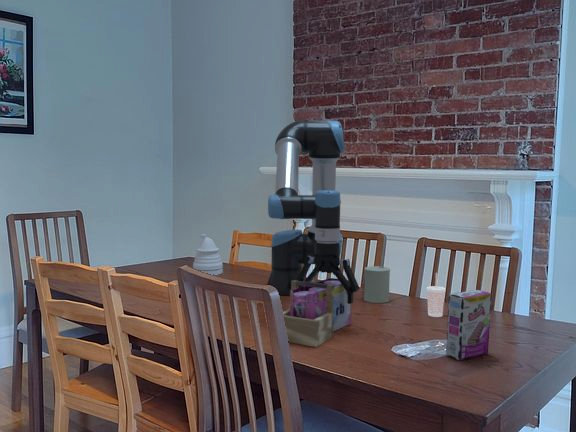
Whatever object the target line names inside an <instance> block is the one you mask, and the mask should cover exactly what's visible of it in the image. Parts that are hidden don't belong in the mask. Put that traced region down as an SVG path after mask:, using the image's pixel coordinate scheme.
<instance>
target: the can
mask: <svg viewBox="0 0 576 432" xmlns="http://www.w3.org/2000/svg"><path fill="white" fill-rule="evenodd" d="M363 270H364V286H363V287H364V289H363V290H364V291H363V292H364V293H363V300H364V302H367V303H371V304H385V303H388V302H390V277H391V276H390V275H391V274H390V272H391V269H390V267H386V266H378V265H377V266H375V265H372V266H371V265H370V266H366V267H364V269H363Z"/></svg>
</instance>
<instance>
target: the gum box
mask: <svg viewBox="0 0 576 432" xmlns="http://www.w3.org/2000/svg"><path fill="white" fill-rule="evenodd" d="M347 280H348V279H347ZM348 282H349V280H348ZM315 283H321V284H331V285H334V327H333V332H335V331H338V330H339V329H341V328H345V327H346V326H349V325H351V324H352V303H351V304H350V314H348V315H344V295H345V293H346V292H347V291H346V290H345V288H344V287H343V286H342V284H341V283H340V281H339V280H338V279H337V278H333V277H329V278H326V279H322V280H319V281H315ZM289 309H290V316H293V317H300V318H306V319H313V320H314V319H316V318H318V317H320V316H322V315H324V314H326V313H327V289H326V288H318V287H309V286H302V287H299V288H295V289H293V290H290V295H289Z"/></svg>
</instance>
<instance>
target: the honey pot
mask: <svg viewBox="0 0 576 432" xmlns="http://www.w3.org/2000/svg"><path fill="white" fill-rule="evenodd" d="M199 237H200V238H201V239H202V241H201V242H200V245H199V246H198V247H197V248H195V251H196V254H195V256H194V261H193V264H192V269H193V268H194V269H196V270H199V271H201V272H204V273H208V274H211V275H213V274H214V275H218V274H221V273H223V274H224V266H223V265H224V264H223V262H222V258H221V255H220V253H219V251H220V248H219V247H217V245H216V244H215V242H214V240H213V239H212V238H210V237H207V234H203V233H202V234H201V233H200V236H199Z"/></svg>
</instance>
